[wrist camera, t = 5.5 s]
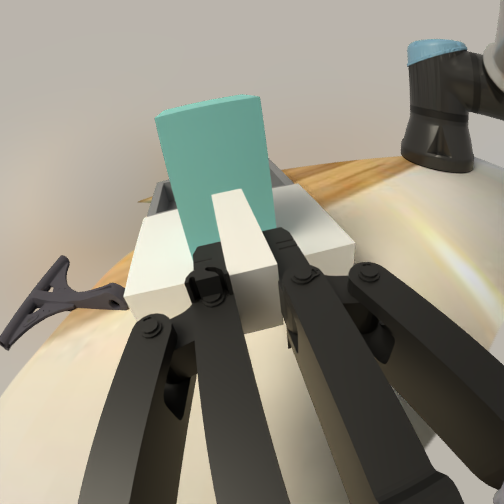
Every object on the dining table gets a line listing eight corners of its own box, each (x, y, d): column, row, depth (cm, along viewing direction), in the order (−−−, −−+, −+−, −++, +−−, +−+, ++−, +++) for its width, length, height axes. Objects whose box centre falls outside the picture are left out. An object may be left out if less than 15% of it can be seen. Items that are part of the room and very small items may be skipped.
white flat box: (300, 217, 31) (298, 183, 29) (351, 286, 21) (355, 242, 19) (155, 250, 30) (143, 217, 27) (145, 335, 20) (123, 296, 18)
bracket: (101, 378, 17) (82, 355, 16) (4, 349, 20) (-12, 330, 18) (159, 262, 29) (151, 239, 28) (64, 266, 31) (55, 249, 30)
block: (259, 208, 25) (242, 94, 20) (278, 243, 20) (259, 96, 15) (191, 224, 25) (164, 110, 19) (193, 263, 20) (154, 118, 14)
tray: (271, 180, 41) (268, 158, 39) (299, 215, 32) (296, 186, 30) (163, 204, 40) (157, 182, 38) (155, 248, 30) (146, 219, 28)
